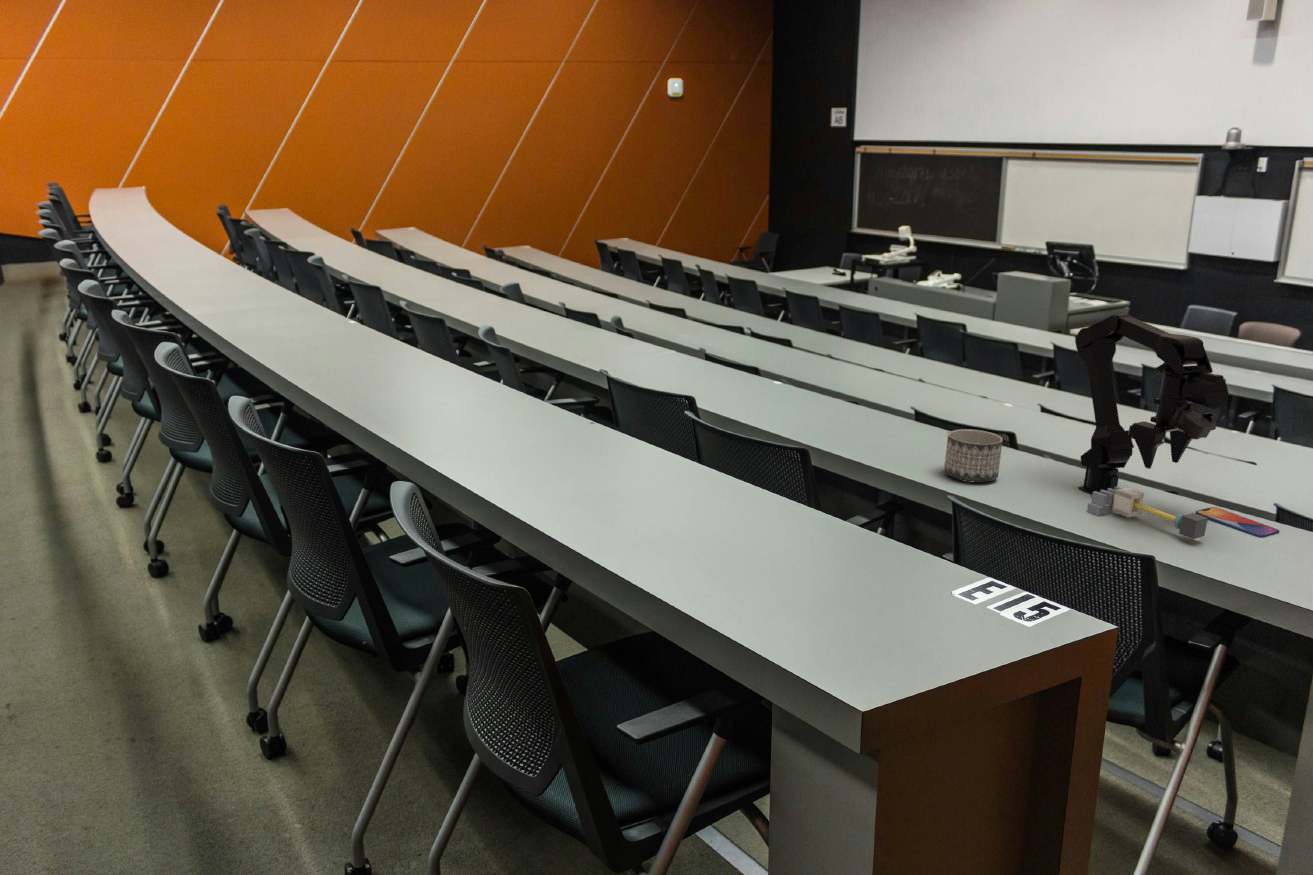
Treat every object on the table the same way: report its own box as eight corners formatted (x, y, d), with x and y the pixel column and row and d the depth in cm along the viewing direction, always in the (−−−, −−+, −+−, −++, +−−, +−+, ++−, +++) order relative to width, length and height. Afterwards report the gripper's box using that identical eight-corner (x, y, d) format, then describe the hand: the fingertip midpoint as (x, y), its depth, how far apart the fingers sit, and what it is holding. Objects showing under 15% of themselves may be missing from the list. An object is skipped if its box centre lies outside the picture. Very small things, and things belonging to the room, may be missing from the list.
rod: (1102, 496, 214) (1102, 491, 213) (1105, 495, 214) (1106, 490, 214) (1183, 526, 197) (1184, 520, 197) (1187, 525, 198) (1188, 520, 197)
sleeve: (1112, 511, 210) (1115, 489, 209) (1124, 508, 212) (1127, 487, 210) (1128, 517, 207) (1131, 495, 205) (1140, 514, 209) (1144, 492, 207)
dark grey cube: (1174, 531, 198) (1177, 514, 197) (1185, 529, 199) (1188, 511, 198) (1193, 539, 194) (1196, 520, 193) (1204, 536, 196) (1207, 517, 195)
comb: (1086, 511, 212) (1089, 492, 211) (1116, 504, 217) (1119, 485, 216) (1098, 516, 210) (1101, 496, 209) (1128, 509, 214) (1131, 489, 213)
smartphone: (1260, 540, 199) (1261, 536, 199) (1192, 515, 212) (1193, 511, 212) (1280, 535, 203) (1281, 530, 202) (1213, 510, 215) (1214, 506, 215)
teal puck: (1173, 529, 198) (1175, 514, 197) (1182, 526, 200) (1185, 512, 199) (1176, 530, 197) (1179, 516, 197) (1186, 528, 199) (1189, 513, 198)
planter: (979, 489, 226) (984, 447, 223) (933, 475, 235) (937, 435, 232) (1007, 478, 234) (1012, 437, 231) (961, 465, 243) (966, 426, 240)
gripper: (1182, 410, 191) (1168, 483, 196) (1238, 400, 200) (1223, 470, 205) (1133, 397, 201) (1120, 467, 205) (1188, 388, 209) (1175, 455, 214)
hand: (1161, 465), depth 207 cm, fingers open, 9 cm apart
